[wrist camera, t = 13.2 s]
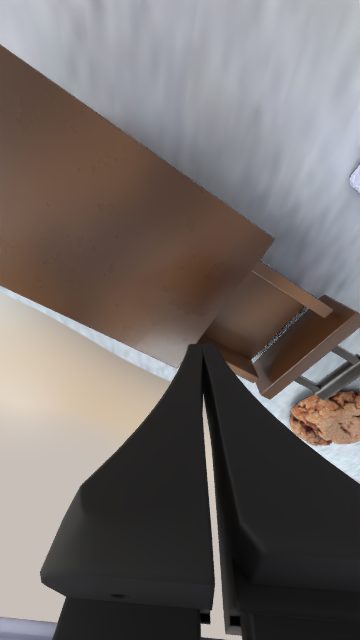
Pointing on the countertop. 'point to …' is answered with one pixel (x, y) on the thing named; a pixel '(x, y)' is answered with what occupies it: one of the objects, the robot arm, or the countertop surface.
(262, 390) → the drawer
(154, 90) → the countertop surface
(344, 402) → the cookie
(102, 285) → the cabinet
